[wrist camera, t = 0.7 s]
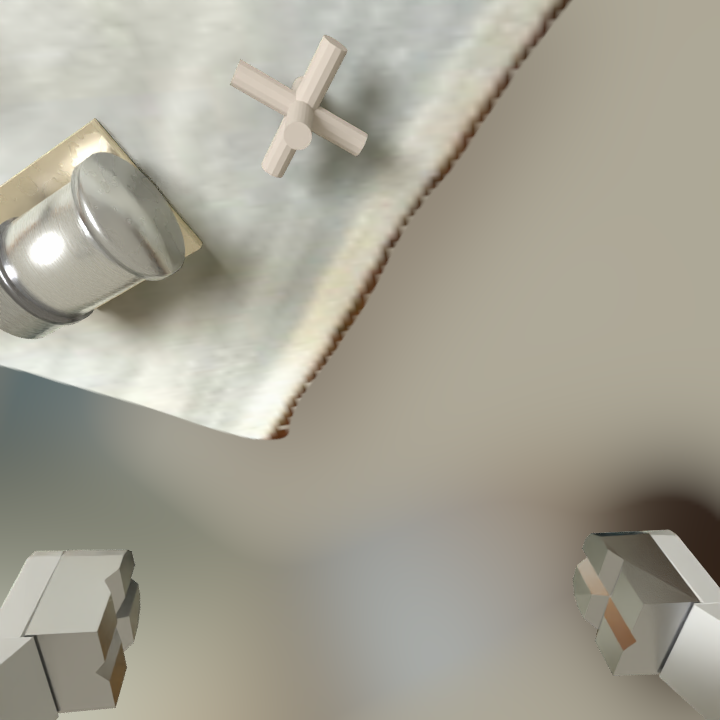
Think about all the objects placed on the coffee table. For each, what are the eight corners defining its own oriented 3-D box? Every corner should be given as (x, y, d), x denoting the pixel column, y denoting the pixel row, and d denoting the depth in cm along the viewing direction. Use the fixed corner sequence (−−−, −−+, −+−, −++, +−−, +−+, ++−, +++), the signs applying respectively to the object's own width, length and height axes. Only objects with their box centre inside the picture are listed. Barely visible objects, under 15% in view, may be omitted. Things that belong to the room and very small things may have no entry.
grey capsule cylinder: (97, 116, 45) (45, 172, 37) (204, 241, 53) (181, 310, 45) (-23, 202, 49) (-92, 268, 41) (93, 306, 57) (53, 379, 49)
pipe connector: (392, 63, 43) (404, 106, 36) (329, 173, 49) (329, 230, 41) (272, -16, 40) (257, 14, 32) (219, 113, 45) (196, 163, 38)
